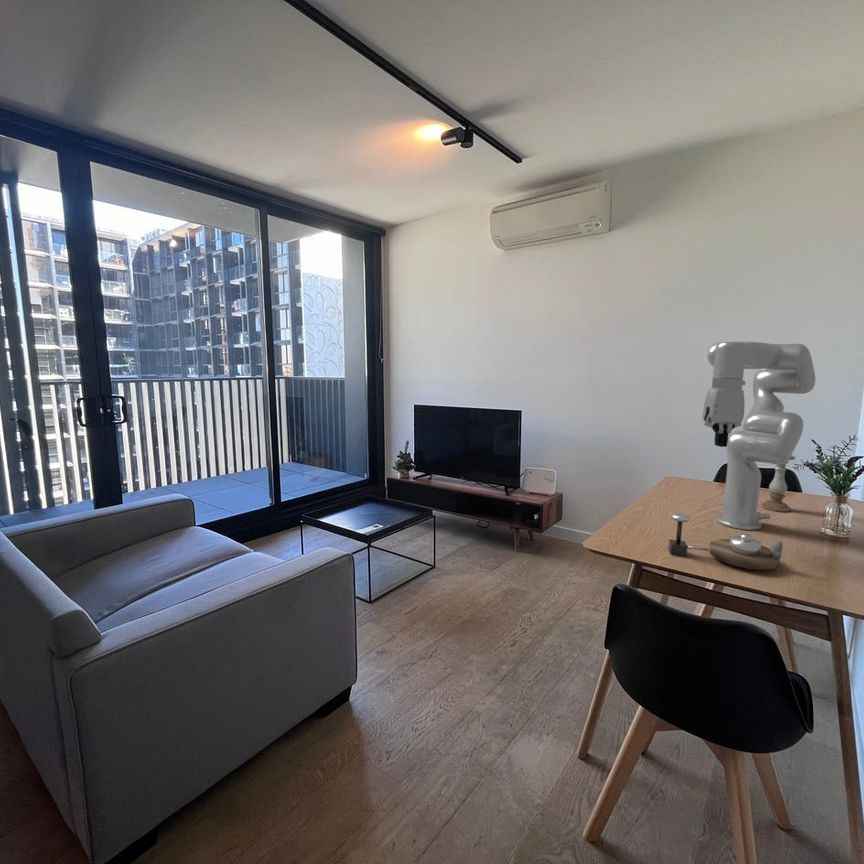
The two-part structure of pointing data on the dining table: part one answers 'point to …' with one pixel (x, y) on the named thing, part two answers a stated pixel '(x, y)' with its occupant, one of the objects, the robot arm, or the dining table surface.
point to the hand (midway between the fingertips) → (720, 445)
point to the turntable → (762, 562)
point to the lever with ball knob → (677, 545)
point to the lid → (745, 545)
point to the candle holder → (778, 490)
